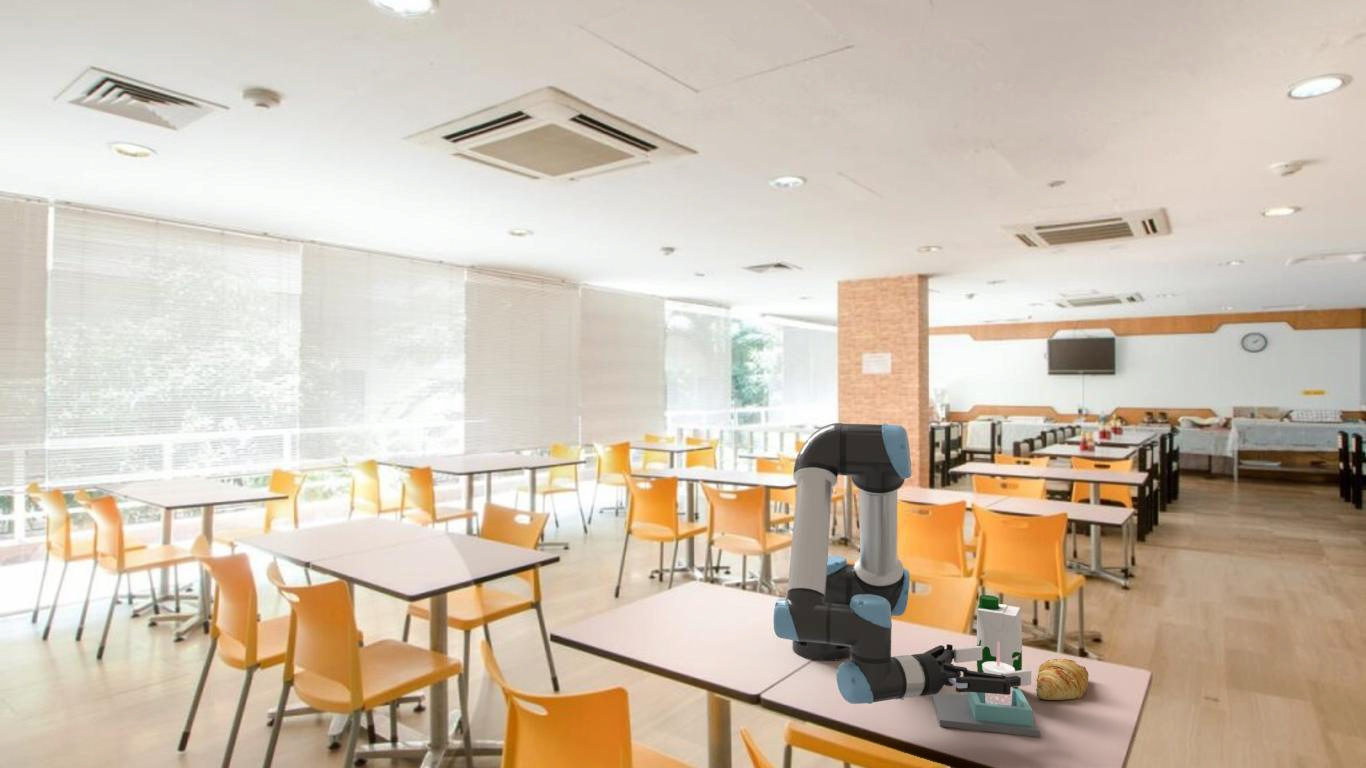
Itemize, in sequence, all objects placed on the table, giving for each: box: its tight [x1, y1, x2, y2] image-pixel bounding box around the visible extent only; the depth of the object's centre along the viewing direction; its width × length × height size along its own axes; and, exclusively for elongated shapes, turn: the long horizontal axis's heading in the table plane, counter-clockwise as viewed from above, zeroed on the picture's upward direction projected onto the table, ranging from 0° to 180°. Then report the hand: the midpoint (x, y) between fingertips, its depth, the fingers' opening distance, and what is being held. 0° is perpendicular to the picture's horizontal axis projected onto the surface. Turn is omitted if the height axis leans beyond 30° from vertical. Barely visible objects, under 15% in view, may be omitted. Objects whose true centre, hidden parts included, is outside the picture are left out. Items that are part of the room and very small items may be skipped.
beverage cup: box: [982, 642, 1015, 706], centre depth 144 cm, size 6×6×14 cm
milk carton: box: [976, 594, 1023, 689], centre depth 158 cm, size 9×9×20 cm
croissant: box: [1035, 658, 1089, 701], centre depth 158 cm, size 21×10×8 cm, turn 130°
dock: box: [931, 688, 1041, 738], centre depth 145 cm, size 18×14×4 cm
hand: (1004, 664), depth 145 cm, fingers open, 13 cm apart
